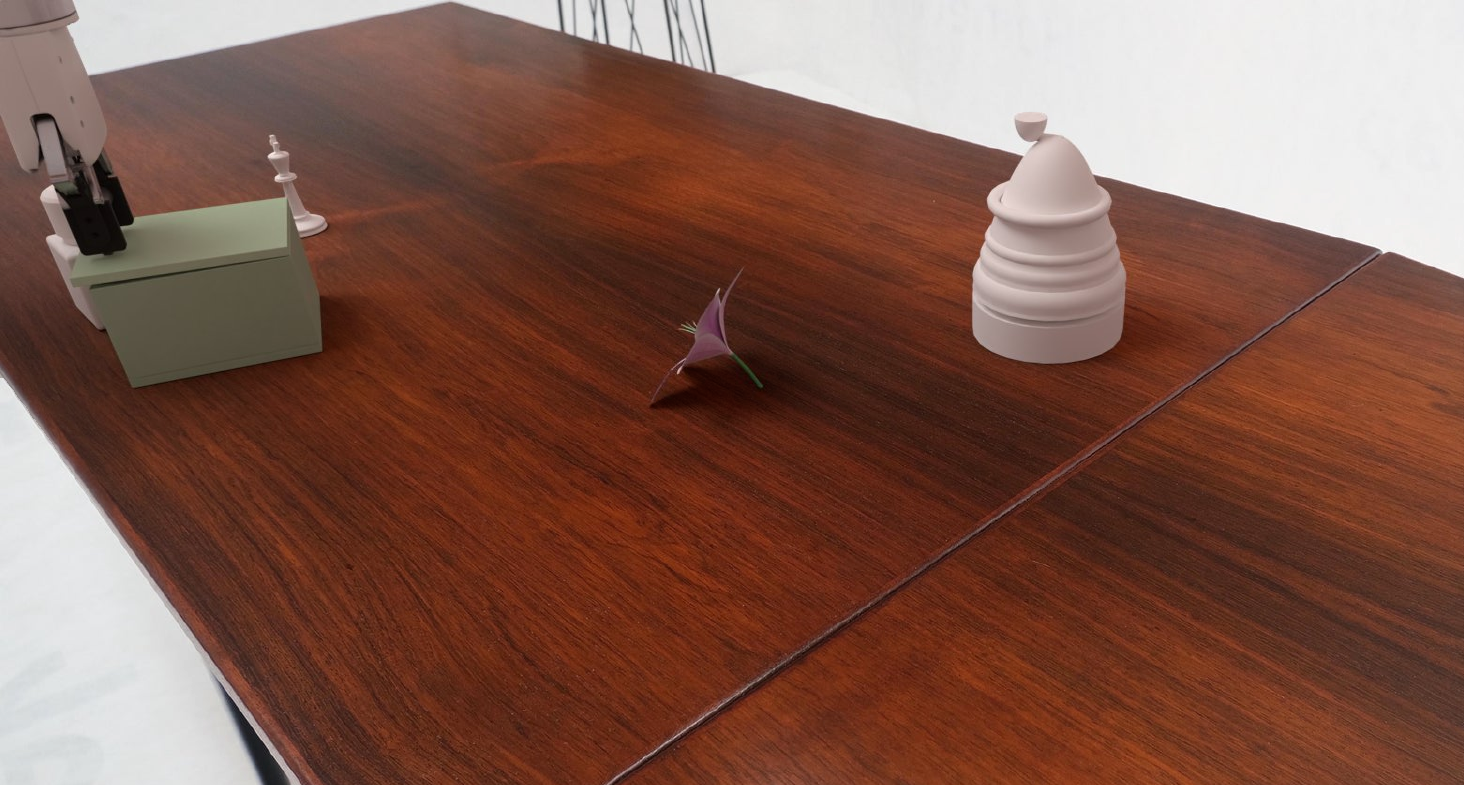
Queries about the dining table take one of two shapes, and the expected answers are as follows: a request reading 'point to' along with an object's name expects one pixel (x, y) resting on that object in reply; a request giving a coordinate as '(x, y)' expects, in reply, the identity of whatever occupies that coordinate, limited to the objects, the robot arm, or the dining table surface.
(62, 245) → the medicine bottle
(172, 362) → the green box
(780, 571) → the dining table surface
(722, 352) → the lily
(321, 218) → the chess piece
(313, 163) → the dining table surface
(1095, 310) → the honey pot
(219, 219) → the box lid
